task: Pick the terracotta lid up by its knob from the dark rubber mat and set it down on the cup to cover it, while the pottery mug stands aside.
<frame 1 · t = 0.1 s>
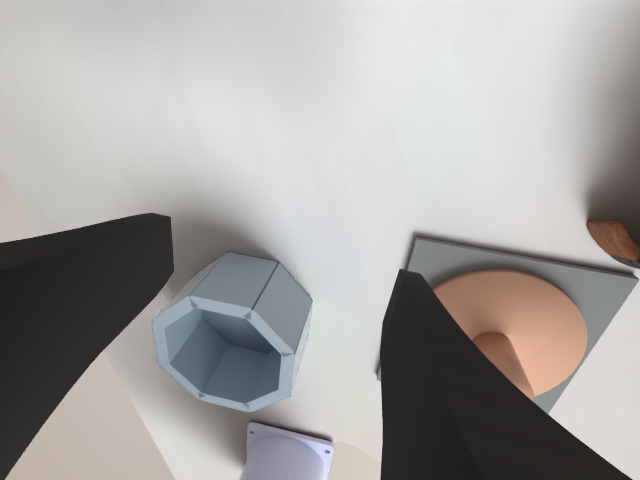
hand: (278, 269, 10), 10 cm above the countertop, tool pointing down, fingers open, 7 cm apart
mat: (485, 333, 22), on the countertop
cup: (251, 307, 25), on the countertop
lid: (487, 337, 22), resting on mat
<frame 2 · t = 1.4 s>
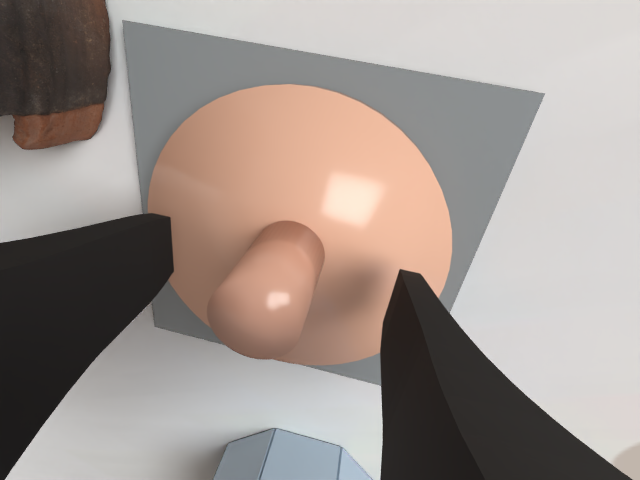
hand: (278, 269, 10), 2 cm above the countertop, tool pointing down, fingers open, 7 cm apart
mat: (298, 237, 12), on the countertop
lid: (295, 242, 12), resting on mat
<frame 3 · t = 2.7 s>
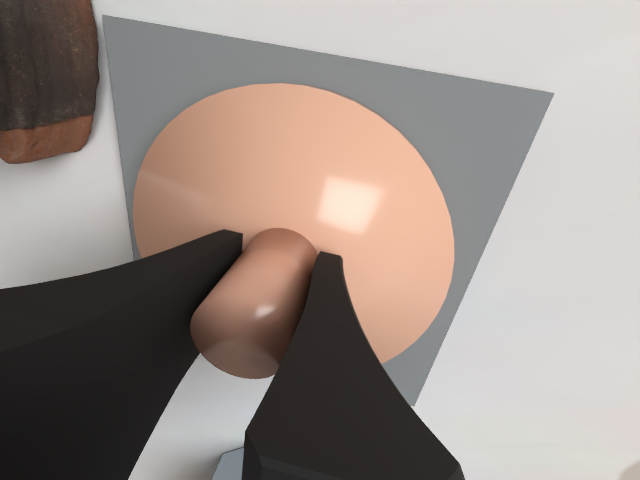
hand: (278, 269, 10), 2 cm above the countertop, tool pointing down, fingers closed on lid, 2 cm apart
mat: (292, 244, 12), on the countertop
lid: (289, 249, 12), resting on mat, touching gripper
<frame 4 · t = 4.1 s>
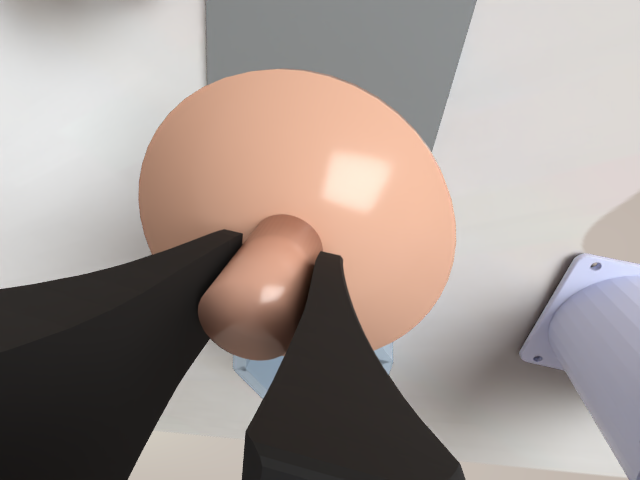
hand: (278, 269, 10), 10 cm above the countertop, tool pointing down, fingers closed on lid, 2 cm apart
mat: (329, 39, 16), on the countertop
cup: (322, 309, 23), on the countertop
lid: (293, 235, 12), point 8 cm above the countertop, touching gripper
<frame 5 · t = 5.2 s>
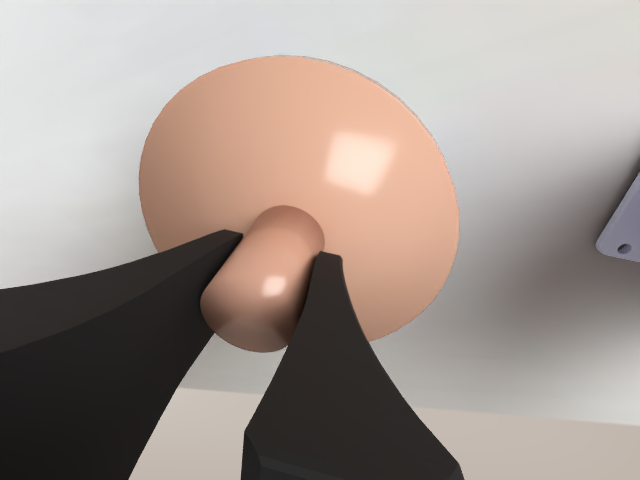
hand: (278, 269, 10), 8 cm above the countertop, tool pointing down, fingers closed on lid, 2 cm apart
lid: (294, 226, 12), point 6 cm above the countertop, tilted 5°, touching gripper
when the fingers open (7 cm above the countertop, at t = 5.9 s): lid stays where it is, resting on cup.
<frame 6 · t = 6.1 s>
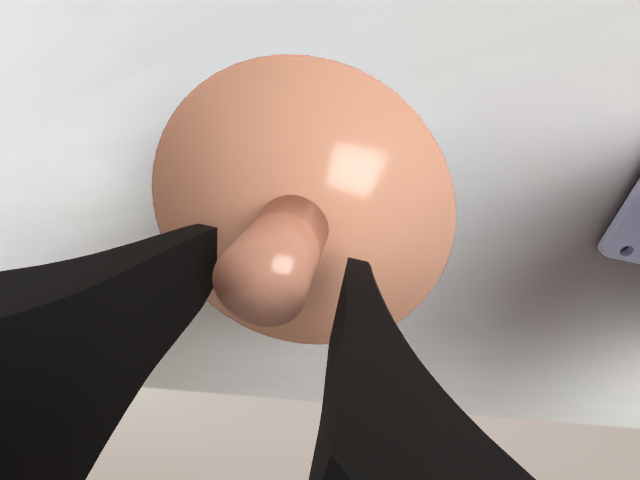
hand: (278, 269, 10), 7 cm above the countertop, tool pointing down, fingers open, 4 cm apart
lid: (299, 219, 12), point 5 cm above the countertop, touching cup
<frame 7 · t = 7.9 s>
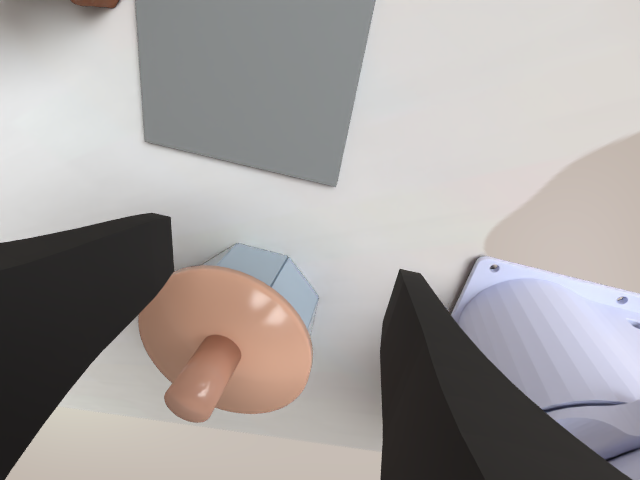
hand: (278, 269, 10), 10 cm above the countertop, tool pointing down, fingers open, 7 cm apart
mat: (247, 49, 17), on the countertop
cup: (256, 300, 25), on the countertop
lid: (227, 341, 20), point 5 cm above the countertop, touching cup
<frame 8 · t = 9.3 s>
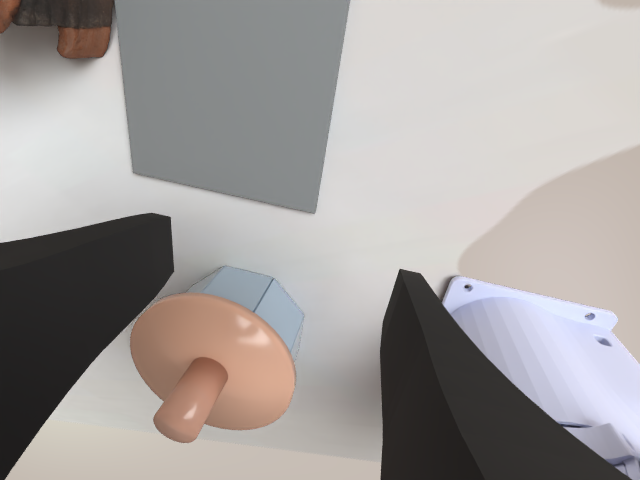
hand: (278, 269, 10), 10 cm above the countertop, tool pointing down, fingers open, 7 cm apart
mat: (226, 88, 18), on the countertop
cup: (245, 319, 26), on the countertop
lid: (215, 362, 21), point 5 cm above the countertop, touching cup
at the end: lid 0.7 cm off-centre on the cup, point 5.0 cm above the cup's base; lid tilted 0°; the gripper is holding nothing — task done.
